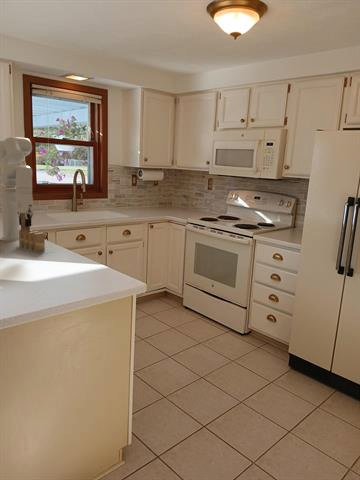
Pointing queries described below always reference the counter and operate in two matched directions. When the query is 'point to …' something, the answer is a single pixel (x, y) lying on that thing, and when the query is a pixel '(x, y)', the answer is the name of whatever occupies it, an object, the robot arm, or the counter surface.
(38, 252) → the board
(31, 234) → the domino
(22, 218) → the domino
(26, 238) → the domino
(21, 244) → the domino
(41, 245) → the domino
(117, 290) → the counter surface
